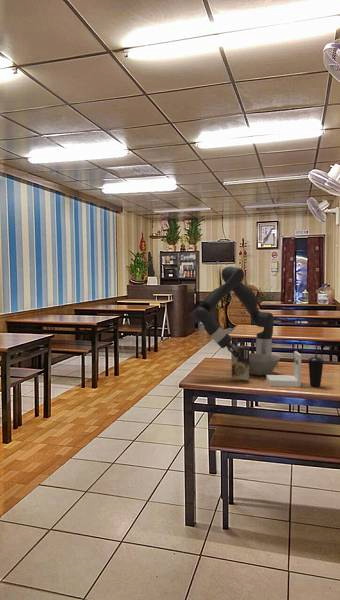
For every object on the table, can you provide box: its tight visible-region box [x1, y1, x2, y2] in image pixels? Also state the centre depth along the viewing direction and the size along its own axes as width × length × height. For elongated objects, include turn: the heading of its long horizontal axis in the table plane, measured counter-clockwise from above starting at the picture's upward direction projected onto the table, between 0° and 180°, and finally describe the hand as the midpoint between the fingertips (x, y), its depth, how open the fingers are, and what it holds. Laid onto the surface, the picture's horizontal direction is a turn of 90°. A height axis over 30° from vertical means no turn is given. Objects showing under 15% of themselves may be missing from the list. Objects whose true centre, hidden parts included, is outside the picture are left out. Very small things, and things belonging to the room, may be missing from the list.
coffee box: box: [230, 345, 250, 379], centre depth 222 cm, size 9×6×16 cm
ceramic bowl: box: [249, 352, 281, 376], centre depth 238 cm, size 22×23×10 cm
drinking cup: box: [307, 346, 325, 388], centre depth 212 cm, size 8×8×20 cm
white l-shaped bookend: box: [265, 350, 302, 388], centre depth 217 cm, size 12×15×16 cm
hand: (243, 360), depth 222 cm, fingers closed on coffee box, 6 cm apart
